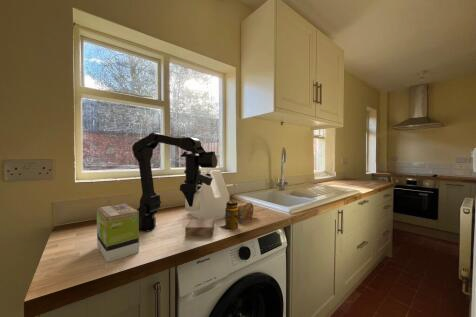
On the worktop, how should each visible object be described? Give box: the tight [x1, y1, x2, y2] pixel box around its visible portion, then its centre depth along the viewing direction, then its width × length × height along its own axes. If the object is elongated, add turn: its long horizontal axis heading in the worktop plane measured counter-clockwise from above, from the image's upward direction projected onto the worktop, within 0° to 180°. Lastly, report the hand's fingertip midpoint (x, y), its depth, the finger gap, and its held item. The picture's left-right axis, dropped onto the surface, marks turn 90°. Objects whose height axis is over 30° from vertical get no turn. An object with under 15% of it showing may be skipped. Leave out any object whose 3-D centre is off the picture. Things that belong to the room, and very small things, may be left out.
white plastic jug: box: [187, 169, 230, 220], centre depth 117 cm, size 19×15×25 cm
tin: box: [237, 202, 254, 223], centre depth 108 cm, size 15×3×8 cm, turn 148°
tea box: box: [96, 203, 140, 263], centre depth 72 cm, size 15×10×15 cm, turn 45°
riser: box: [184, 218, 215, 238], centre depth 90 cm, size 11×11×4 cm
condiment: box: [218, 200, 242, 233], centre depth 95 cm, size 7×8×12 cm
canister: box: [184, 191, 200, 212], centre depth 86 cm, size 6×6×8 cm
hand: (192, 204), depth 87 cm, fingers closed on canister, 6 cm apart
